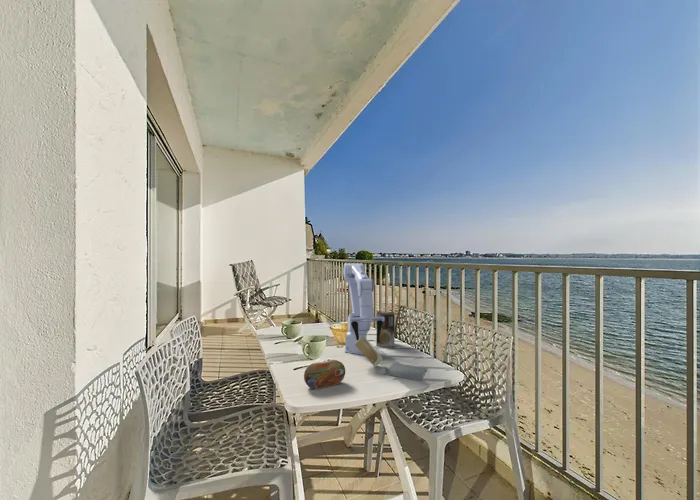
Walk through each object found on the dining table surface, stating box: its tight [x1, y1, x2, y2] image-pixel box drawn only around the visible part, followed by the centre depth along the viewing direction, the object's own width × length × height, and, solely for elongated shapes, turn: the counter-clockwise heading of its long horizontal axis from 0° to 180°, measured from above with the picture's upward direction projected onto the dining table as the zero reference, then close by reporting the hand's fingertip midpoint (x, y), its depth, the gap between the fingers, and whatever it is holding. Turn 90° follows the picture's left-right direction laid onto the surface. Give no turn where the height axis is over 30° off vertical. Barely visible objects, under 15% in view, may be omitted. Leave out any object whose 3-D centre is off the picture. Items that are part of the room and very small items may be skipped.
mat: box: [383, 362, 428, 382], centre depth 126 cm, size 14×13×1 cm
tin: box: [303, 359, 346, 390], centre depth 112 cm, size 15×3×8 cm, turn 118°
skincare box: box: [355, 336, 384, 368], centre depth 130 cm, size 6×4×12 cm
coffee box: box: [375, 311, 396, 347], centre depth 160 cm, size 9×6×16 cm
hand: (368, 340), depth 132 cm, fingers open, 7 cm apart
